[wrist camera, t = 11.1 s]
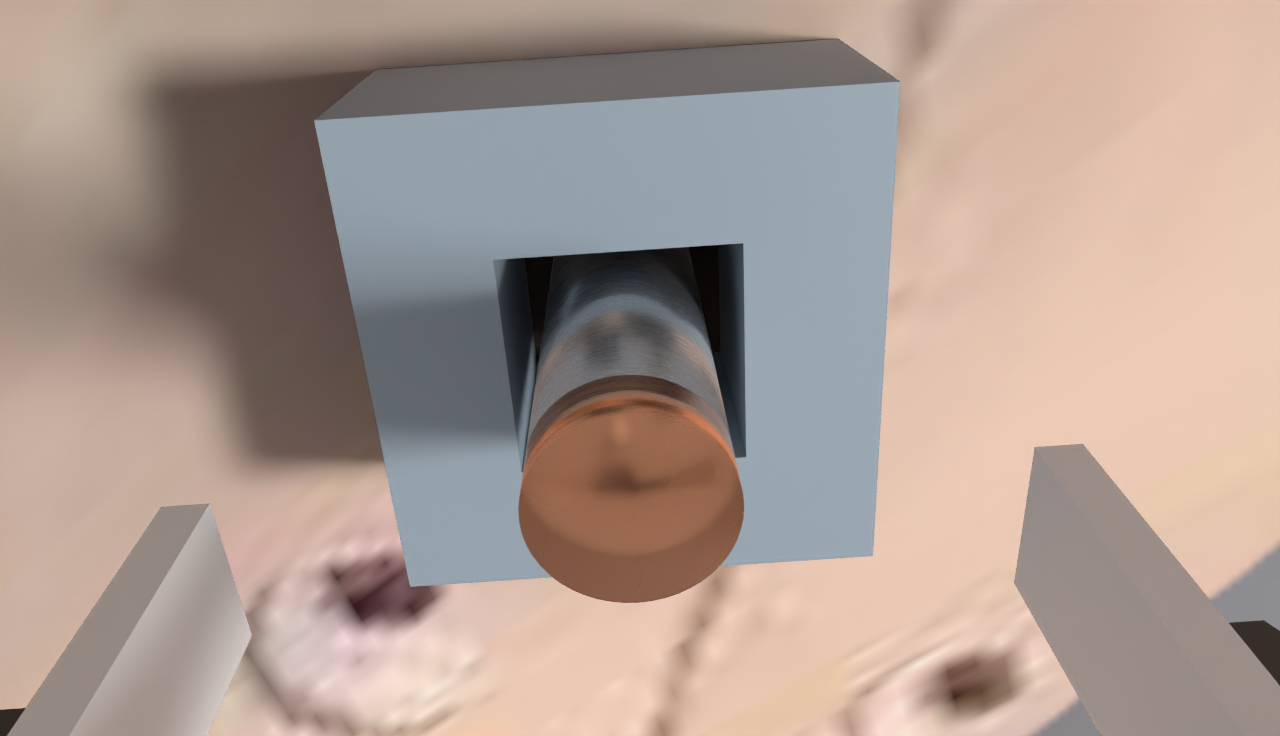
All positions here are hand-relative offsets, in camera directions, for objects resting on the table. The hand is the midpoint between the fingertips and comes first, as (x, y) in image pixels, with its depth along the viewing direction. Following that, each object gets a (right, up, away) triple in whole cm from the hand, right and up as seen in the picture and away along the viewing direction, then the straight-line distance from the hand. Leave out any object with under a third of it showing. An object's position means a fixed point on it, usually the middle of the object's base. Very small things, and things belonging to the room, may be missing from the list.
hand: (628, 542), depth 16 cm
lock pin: (0, +6, +12) cm, 13 cm away
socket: (0, +6, +12) cm, 13 cm away
